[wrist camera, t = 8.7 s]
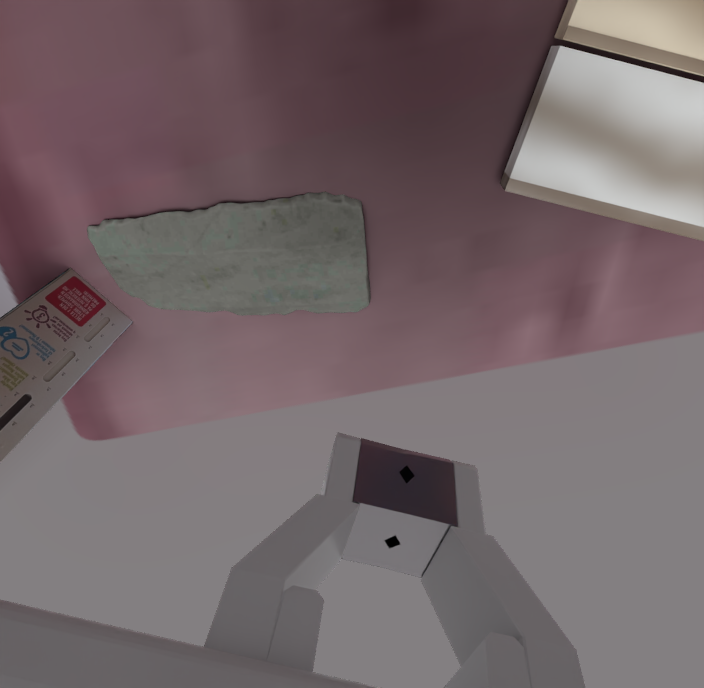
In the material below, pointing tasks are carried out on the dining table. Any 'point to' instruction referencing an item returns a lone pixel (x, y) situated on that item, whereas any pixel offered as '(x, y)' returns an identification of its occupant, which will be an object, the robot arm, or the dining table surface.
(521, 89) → the dining table surface
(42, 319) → the carton
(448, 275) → the dining table surface
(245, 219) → the stone slab
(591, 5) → the thin beige board
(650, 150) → the board
